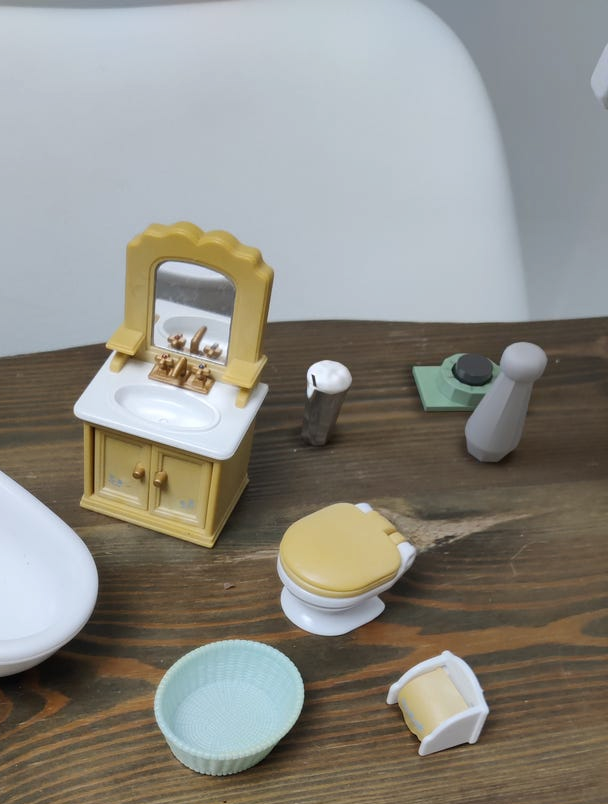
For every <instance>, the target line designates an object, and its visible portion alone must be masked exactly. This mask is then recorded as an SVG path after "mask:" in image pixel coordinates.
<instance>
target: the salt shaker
mask: <svg viewBox="0 0 608 804" xmlns="http://www.w3.org/2000/svg"><path fill="white" fill-rule="evenodd" d="M547 363H548V357H547V354H546V352H545V350H543V349H542V348H541V347H540V346H539V345H537V344H534V343H532V342H527V341H520V342H515V343H511V344H510V345H508V346H506V348H505V349H504V351H503V353H502V355H501V358H500V361H499V366H500V368H501V372H500V374H499V375H498V377H497V378H496V380H495V381H494V383H493V384H492V386H491V387H490V389H489V390H488V392H487V393H486V395H485V396H484V398H483V399H482V400H481V402H480V403H479V405H478V406H477V408H476V409H475V411H472V414H471V415H470V417H469V418H468V420H467V422H466V424H465V427H464V435H465V439H466V446H467V447H466V448H467V453H469V454H470V455H471V456H473V457H474V458H475V459H477V460H478V461H480V462H486V463H488V462H489V463H490V462H491V463H498V462H499V461H501V460H502V459H503V458H504V457H505V456H507V455H508V454H509V453H511V452H512V451H514V450H515V449H516V448H517V447H518V445H519V444H520V441H521V439H522V434H523V430H524V425H525V421H526V416H527V413H528V408H529V404H530V399H531V395H532V390H533V386H534V383H535V381H537V380H538V379H540V378H541V377H542V376H543V374H544V372H545V370H546V367H547Z"/></svg>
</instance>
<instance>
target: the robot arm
mask: <svg viewBox="0 0 608 804" xmlns="http://www.w3.org/2000/svg"><path fill="white" fill-rule="evenodd" d="M590 86H591V90H592V93H593V94H594V97H595V98H596V101H598V103H599V104H600V105H601V107H602V108H603V109H605V110H608V42H607V43H606V45H605V47H604V49H603V51H602V53H601V55H600V57H599V59H598V61H597V63H596V66H595V67H594V70H593V73H592V75H591V79H590Z"/></svg>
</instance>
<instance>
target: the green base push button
mask: <svg viewBox="0 0 608 804" xmlns="http://www.w3.org/2000/svg"><path fill="white" fill-rule="evenodd" d="M464 354H465V353H455V354H453V355H450V356H449V357H446V358H445V359H444V360H443V361H442V364H441V365H440V366H439V365H438V366H437V365H431V366H430V365H427V366H426V365H425V366H423V365H421V366H419V365H418V366H415V365H414V366H413V367H412V371H411V372H412V375H413V378H414V382H415V385H416V389H417V391H418V394H419V396H420V397H419V398H420V400H421V403H422V406H423V409H424V412H474V411H475V409H476V408H477V406H478V405H479V403H480V402H481V400H482V399H483V398H484V396H485V395H486V393H487V392H488V390H489V389H490V387H491V386H492V384H493V383H494V381H495V380H496V378H497V377H498V375H499V374H500V372H501V368H500V365H497V364H496V363H495V362H493V360H491V359H490V358H488V359H489V360H490V361H491V362H492V364H493V372H492V374H491V377H490V379H489V381H488V383H487V384H485V385H484V386H469V385H466V384H463V383H461V382H459V381H458V380H457V379H456V378H455V377H454V369H455V366H456V363H457V360H458V359H459V357H461V356H462V355H464ZM469 354H471V352H470V353H469Z"/></svg>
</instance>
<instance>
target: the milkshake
mask: <svg viewBox="0 0 608 804" xmlns="http://www.w3.org/2000/svg"><path fill="white" fill-rule="evenodd" d="M352 381H353V378H352V375H351V371H350V370H349V368H347V367H346V366H345V365H343V364H342V363H341V362H338V361H333V360H329V359H325V360H321V361H318V362H315V363H313V364H312V365H310V367H309V368H308V370H307V374H306V383H305V384H306V385H305V398H304V408H303V415H302V416H303V417H302V424H301V425H302V426H301V431H300V432H301V433H300V437H301V439H303V441H304V442H305V444H309V445H311V446H313V447H315V446H324V445H326V444H327V443H329V442H330V441H331V438H332V435H333V432H334V430H335V427H336V424H337V421H338V419H339V415H340V412H341V410H342V407H343V404H344V402H345V399H346V397H347V394H348V392H349V389H350V386H351V384H352Z"/></svg>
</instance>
